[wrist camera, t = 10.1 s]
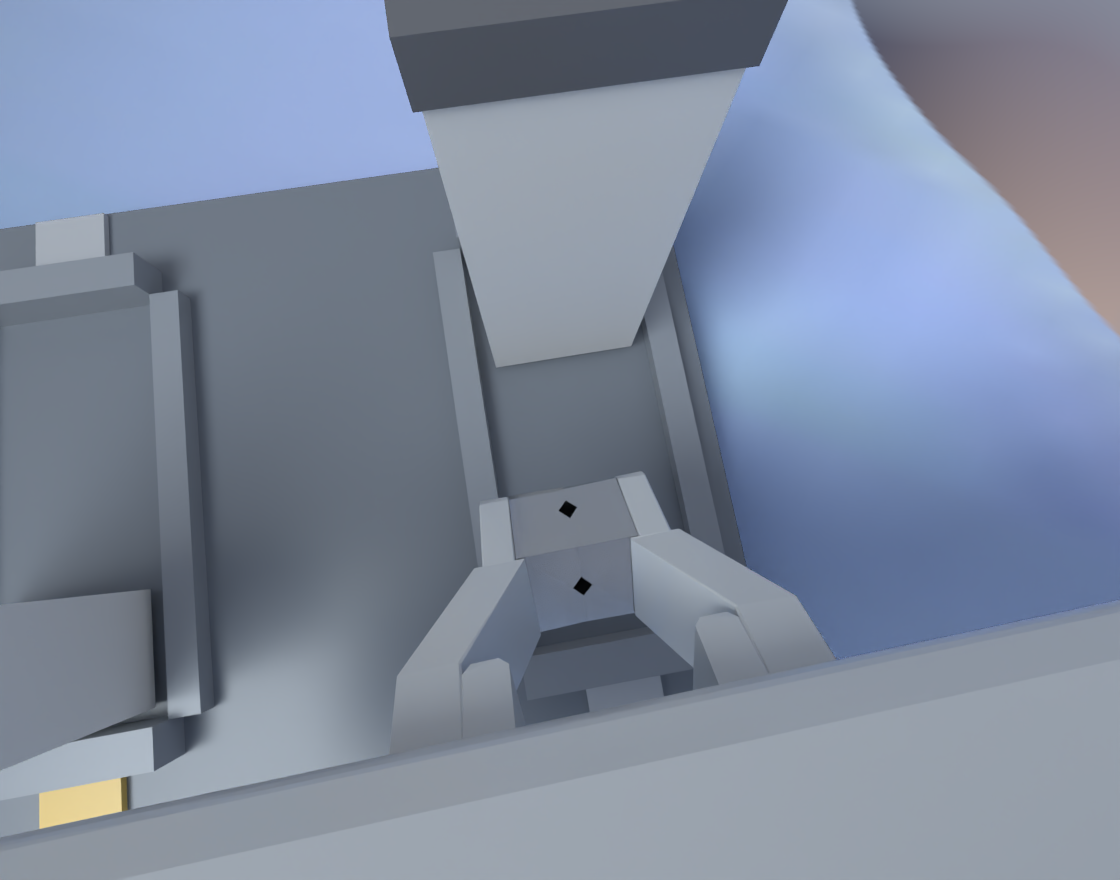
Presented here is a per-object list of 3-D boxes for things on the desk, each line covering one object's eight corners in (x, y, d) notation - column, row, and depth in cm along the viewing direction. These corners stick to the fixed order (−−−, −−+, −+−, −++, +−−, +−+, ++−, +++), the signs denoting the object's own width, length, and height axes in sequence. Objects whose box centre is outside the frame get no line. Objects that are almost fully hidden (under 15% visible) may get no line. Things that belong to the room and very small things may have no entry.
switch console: (800, 884, 16) (851, 952, 13) (-22, 1058, 15) (-147, 1171, 12) (641, 168, 20) (655, 110, 17) (-13, 262, 19) (-106, 214, 16)
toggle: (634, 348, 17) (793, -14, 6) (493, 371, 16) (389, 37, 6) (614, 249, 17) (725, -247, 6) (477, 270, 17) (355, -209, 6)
